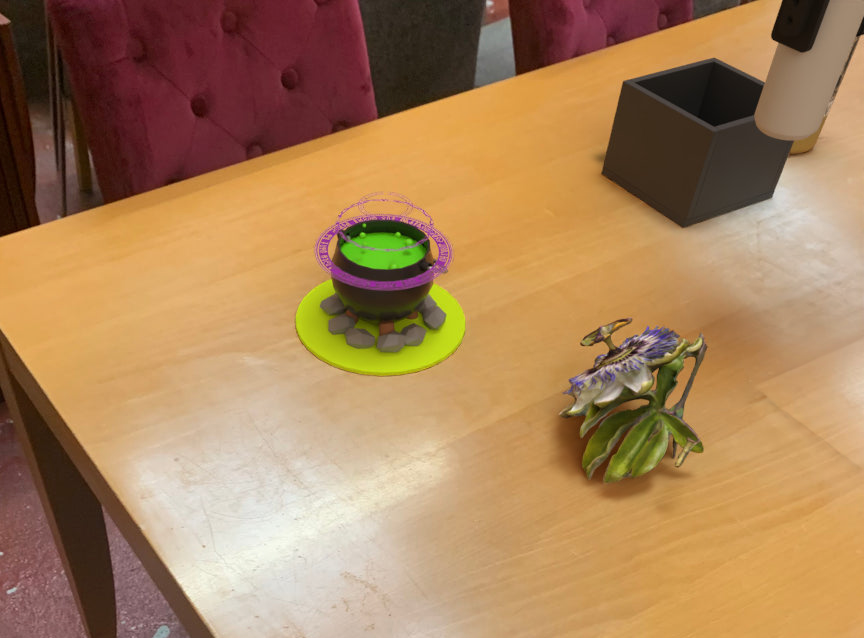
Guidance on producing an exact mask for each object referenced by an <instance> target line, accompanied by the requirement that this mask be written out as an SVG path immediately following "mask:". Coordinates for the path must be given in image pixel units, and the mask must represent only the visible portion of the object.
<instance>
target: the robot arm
mask: <svg viewBox="0 0 864 638" xmlns="http://www.w3.org/2000/svg"><path fill="white" fill-rule="evenodd" d="M829 1H830V0H781V3H780V6H779V9H778V12H777V15H776V18H775V21H774V24H773V27H772V30H771V33H770V38H771V40H772V41H774V42H776V43H777V44H778V43H780V44H783V45H785V46H787V47H789V48H792V49H794V50H796V51H799V52H801V53H804V52H807V51H810V50H811V49H812V47H813V45H814V42H815V39H816V36H817V34H818V31H819V28H820V26H821V23H822V20H823V18H824V15H825V12H826V9H827V7H828V4H829ZM857 36H864V17H863V19H862V22H861V24H860V27H859V29H858V32H857V34H856V37H857Z"/></svg>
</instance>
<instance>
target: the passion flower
mask: <svg viewBox="0 0 864 638" xmlns="http://www.w3.org/2000/svg"><path fill="white" fill-rule="evenodd" d="M633 320H634V319H633V317H630V316H629V317H627V318H620V319H617V320H614V321H612V322H610V323H607V324H606V325H605V324H604V325H602V324H601V325H599V327H598V328H597V329H595V330H593V331H591V332H589V333H588V334H586V335H585V336H584V337H583V338H582V340H581V341H580V342H579V344H580V346H581V347H593V346H594V345H597V344H599V343H602V342H603V343H605V345H606V346H607V348H608V352H607V353H604V354H603V353H602V354H599V355H597V356H596V357H595V359H594V364H593V366H592V367H591V368H588V369H586V370H584V371H582V372H580V373H578V374H576V375H575V376H574V377H571V378H569V379H568V382H569V383H570V388H569V389H567V390H565V391H563V392H561V394H562V395H570V396H571V397H572V398H573V399H574V402H572V403H569V404H568V405H567V406H565V407H564V408H563V409H562V410H561V411H560V412H559V413H558V416H559V417H560V418H562V419H566V420H568V419H571V418H575V417H583V416H585V418H584V420H583V423H582V424H581V426H580V427H579V437H580V439H583V438H584V437H585V435H586V434H587V433H588V431H589V430H590V429H592V427H595V426H596V425H597V424H598V422H599V421H600V420H601V419H602V420H601V421H600V423H599V426H598V428H597V429H595V431H594V433H592V435H591V436H590V438H589V439H588V442H587V444H586V447H585V450H584V452H583V453H582V459H581V468H582V469H583V470H584V472H585V473H586V478H587V480H591V479H592V477H593V474H594V472H595V470H596V469H597V468H599V467H600V466H602V464H603V463H604V462H605V461H606V460H607V459H608V458H609V456H610V454H611V452H612V450H613V449H614V447H615V446H616V445H617V443H619V440H620V439H621V437H622V436H623V434H625V433H626V432H627V431H628V432H627V433H626V434H625V436H624V439H623V440H622V441H621V444H620V445H619V447H618V449H617V452H616V453H615V454H613V455H612V456H611V458H610V460H609V463H608V465H607V467H606V469H605V472H604V475H603V478H602V483H603V484H606V485H607V484H611V483H616V482H621V481H623V480H625V479H627V478H628V479H629V478H630V479H634V478H635V479H636V478H639V477H642V476H643V475H646V474H647V473H649V472H651V471H652V470H654V468H656V466H658V464H659V463H660V462H661V461H662V459H664V457H665V455H666V452H667V450H668V447H669V441H670V438H671V437H672V459H675V458H676V452H677V448H678V445H679V446H680V448H682V451H681V452H680V453H679V454H678V456H677V460H676V461H675V462H674V465H673V466H674V468H680V467H681V466H682V465H683V463H684V461H685V460H686V459H687V456H688V455H689V454H690V453H696V454H703V453H704V451H705V449H704V448H705V447H704V445H703V441H702V440H701V438H700V436H699V435H698V434H697V433H696V431H695V430H694V429H693V428H692V427H691V426H690V425H689V424H688V423H687V422H686V421H685V420H683V419H684V414H685V404H686V401H687V399H688V396H689V394H690V391H691V389H692V387H693V384H694V380H695V379H696V376H697V373H698V371H699V368H700V367H701V365H702V363H703V361H704V358H705V355H706V352H707V349H708V347H709V346H708V345H707V343H706V341H705V339H706V337H704V334H703V333H702V332H699V333H698V337H697V338H696V339H695V340H694V341H693V342H692V343H690V341H689V340H687V339H686V338H684V337H681V335H680V334H678V333H677V332H676V331H675V330H674V329H672V330H670V328H669V327H666V326H662V327H661V328H659V327H660V326H659V325H655V327H654V328H653V329H650V326H649V325H647V326H646V328H645V330H644V331H643V332H642V333H640V335H639V334H634V335H633V336H629V337H625V339H624V340H623V341H622V343H621V344H620V345H619V346H616V345H615V344H614V343H613V340H612V336H613V334H614V333H615V332H617V331H619V330H620V329H622V328H623V327H625V326H627V325H630V324H631V323H632V322H633ZM688 358H694V359H695V362H694V366H693V368H692V371H691V373H690V376H689V378H688V380H687V382H686V385H685V387H684V390H683V392H682V394H681V397H680V399H679V400H678V401H677V402H676V403H675V404H674V405H672V406H671V407H670V408H669V409H668V408H666V402H667V400H668V398H669V396H671V394H672V393H673V392H674V391H675V390H676V388H677V386H678V384H679V381H678V380H677V378H678V376H679V374H680V373H681V372H682V370H683V369H684V368H685V361H684V360H685V359H688ZM655 371H657V374H656V377H655V376H654V374H653V373H654V372H655ZM655 381H656V385H655ZM654 385H655V386H656V387H655V389H653V390H651V389H652V387H654ZM637 400H645V401H648V403H647V404H641V406H639V407H637V408H636V409H628V408H627V409H624V410H619V411H616V412H613V413H611V414H610V415H608V414H609V413H610V412H612V411H613V410H615V409H616V408H618V407H620V406H621V405H623V404H627V403H629V402H631V401H637ZM607 415H608V416H607ZM603 418H604V419H603Z"/></svg>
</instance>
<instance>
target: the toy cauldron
mask: <svg viewBox="0 0 864 638" xmlns="http://www.w3.org/2000/svg"><path fill="white" fill-rule="evenodd" d="M392 194H393V196H396V197H398V198H400V199H402V200H404V199H405V198H406V201H402V200H397V199H394V200H392V202H394V203H397V204H398V203H399V204H404V205H407V206H408V207H407V209H406V211H404V212H403V213H401V214H392V213H389V214H388V215H383V213H376V214H373V213H370V212H368V211H367V210H366V209H365V207H364V206H362V207H360V205H363V204H366V203H369V202H371V199H369V197H370V198H371V197H374V196H376V195H377V196H381V195H383V192H380V193H378V191H377V192H376V191H375V192H374V193H373V192H372V193H368V194H366V195H364V196H363V197H361V198H360V200H358V202H356V203H353V204H351V205H350V206H349V207H345V208H343V210H342V211H340V214H338V215H337V217H336V218H337V219H336V220H335V223H334V224H332V225H331V226H329V227H326V229H324V231H323V232H321V233H320V234H319V236H318V238H317V239H316V240H315V245H314V251H315V253H314V254H313V257H314V256H315V259H316V262H317V264H318V265H319V266H320V267H321V268H322V269H323V270H325V271H326V273H327V274H328V275H329V276H330V279H327V280H325V281H323V282H321V283H320V284H318V285H317V286H315V287H314V288H312V289H311V290H310V291H308V293H306V295H305V296H304V297H303V298H302V300H301V301H300V303H299V305H298V307H297V309H296V312H295V313H296V314H295V318H294V319H295V320H294V322H295V323H294V324H295V331H296V333H297V337H298V338H299V340H300V342H301V343H302V344H303V346H304V347H305V348H306V350H307V351H309V352H310V353H311V354H313V356H315V357H316V358H317V359H319V360H321V361H322V362H324V363H326V364H328V365H330V366H332V367H334V368H337V369H341V370H343V371H346V372H350V373H356V374H359V375H366V376H377V377H379V376H380V377H384V376H385V377H387V376H401V375H406V374H407V375H408V374H413V373H417V372H421V371H423V370H426V369H429V368H432V367H434V366H436V365H438V364H440V363H442V362H444V361H445V360H446V359H447V358H448V357H451V355H452V354H454V353H455V352H456V351H457V350H458V348H459V346H460V345H461V344H462V342H463V341H464V337H465V335H466V322H467V321H466V317H465V312H464V310H463V308H462V307H461V305H460V304H459V301H458V300H457V299H456V298H455V297H454V296H453V295H452V294H451V293H450V292H449V291H447V290H446V289H444V288H443V287H441V286H440V285H439V284H437V283H435V282H434V281H435V280H436V278H438V277H439V276H441V275H446V274H447V273H449V269H450V267H451V266H452V264H451V263H453V262H454V260H455V257H453V254H452V253H453V251H455V249H454V248H453V247H454V245H453V243H452V241H450V238H449V237H447V236H446V235H444V233H442V230H440V229H437V227H434V226H435V225H434V220H433V218H432V217H431V215H430V214H429V213H428V212H427V211H426V210H424V209H422V208H421V207H420V206H417V205H415V204H413V202H412V201H410V200H409V199H408V197H407V196H406V195H403V194H400V193H397V192H392V191H391V192H389V193H388V195H389V196H392ZM366 196H368V197H366ZM364 198H366V200H364ZM380 201H382V202H389V198H387V199H386V198H377V199H372V202H380ZM354 207H358V209H359V211H360V212H361V215H355V216H351V217H348V218H345V219H342V220H341V218H342V216H343V214H345V213H346V212H347V211H348V210H350V209H351V208H354ZM413 209H417V210H418V211H419V212H421V213H422V214H423V215H424V216H425V217H426V218H430V219H429V223H427V222H425V221H422V220H420V219H417V218H414V217H410V216H409V214H410V212H412V211H413ZM363 210H364V211H363ZM409 210H410V212H409ZM407 211H408V212H407ZM364 215H365V216H364ZM335 236H336V237H337V241H336V245H335V250H334V252H333V255H332V258H331V257H330V255H329V245H330V243H331V241H332V239H333V238H334V237H335ZM430 238H432V239H433V241H434V242H435V244H436V246H437V249H438V257H437V259H435V258H434V255H433V252H432V250H431V240H430Z"/></svg>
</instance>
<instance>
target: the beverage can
mask: <svg viewBox="0 0 864 638" xmlns="http://www.w3.org/2000/svg"><path fill="white" fill-rule="evenodd" d="M863 17H864V0H830V1H829V4H828V7H827V9H826V12H825V15H824V18H823V20H822V23H821V26H820V28H819V31H818V34H817V36H816V39H815V42H814V45H813V47H812V49H811V50H810V51H807V52H804V53H801V52H799V51H796V50H794V49H792V48H789V47H787V46H785V45H783V44H780V43H778V42H777V46H776V48H775V51H774V55H773V57H772V60H771V64H770V66H769V70H768V72H767V75H766V79H765V81H764V82H765V84H764V87H763V90H762V93H761V96H760V99H759V102H758V105H757V108H756V111H755V114H754V118H755V122H756V125H757V127H758V128H759V130H760V131H762V132H763V133H764V134H766V135H768V136H770V137H773V138H776V139H781V140H791V141H795V140H802V139H805V138H808V137H809V136H811V135H812V134H813V133H815V132H816V131H817V130H818V129H819V127H820V124H821V122H822V119H823V117H824V114H825V112H826V109H827V107H828V104H829V102H830V99H831V97H832V94H833V92H834V89H835V87H836V84H837V82H838V79H839V77H840V74H841V72H842V69H843V67H844V64H845V62H846V59H847V57H848V54H849V52H850V49H851V47H852V44H853V42H854V39H855V37H856V34H857V32H858V29H859V27H860V24H861V22H862V19H863Z"/></svg>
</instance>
